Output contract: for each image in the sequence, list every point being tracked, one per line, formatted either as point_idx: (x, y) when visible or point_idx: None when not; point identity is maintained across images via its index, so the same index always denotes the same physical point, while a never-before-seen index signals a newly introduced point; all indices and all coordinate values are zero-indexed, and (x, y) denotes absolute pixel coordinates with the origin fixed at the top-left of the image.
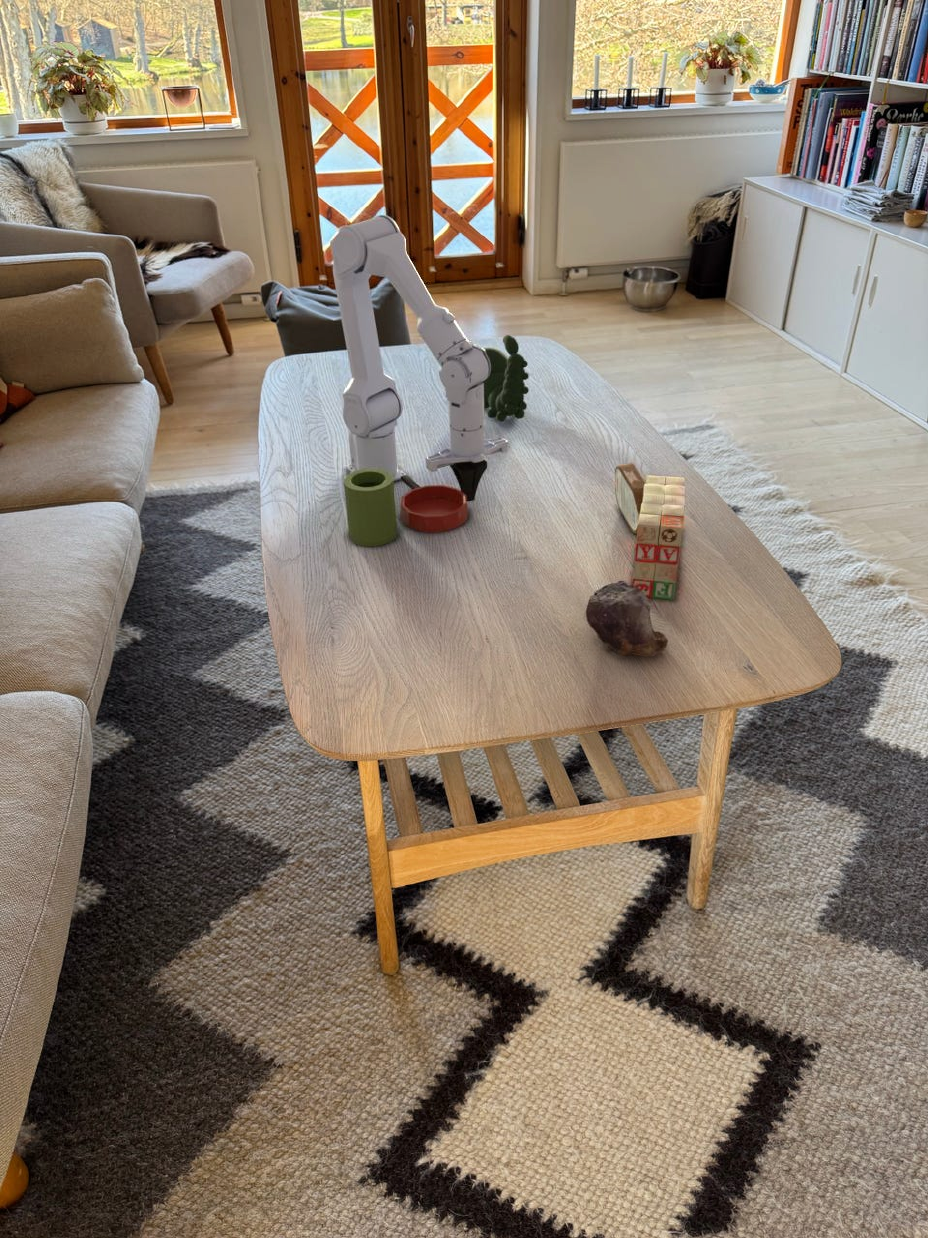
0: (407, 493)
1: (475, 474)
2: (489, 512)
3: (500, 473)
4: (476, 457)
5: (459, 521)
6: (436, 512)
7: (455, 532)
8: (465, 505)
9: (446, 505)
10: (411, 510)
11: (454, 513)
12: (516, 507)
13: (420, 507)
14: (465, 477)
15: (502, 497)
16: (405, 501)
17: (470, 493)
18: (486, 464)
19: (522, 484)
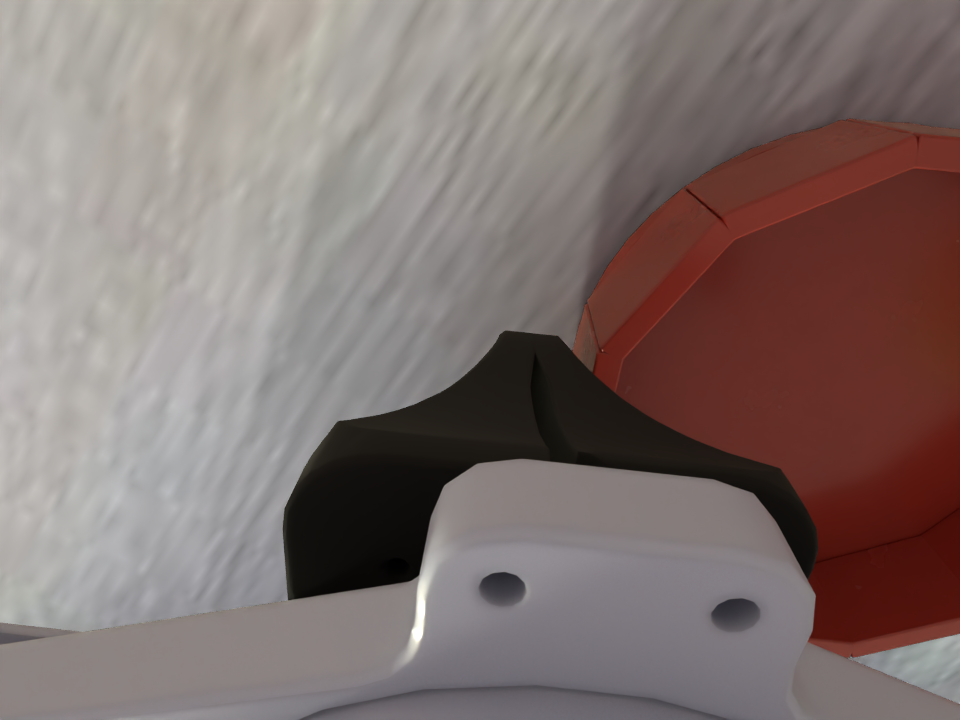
0: (922, 636)
1: (532, 427)
2: (455, 170)
3: (112, 543)
4: (672, 615)
5: (829, 128)
6: (807, 386)
7: (912, 57)
8: (749, 201)
9: (677, 421)
10: (903, 505)
11: (956, 136)
12: (218, 97)
13: (827, 501)
14: (694, 444)
15: (243, 301)
16: (952, 581)
17: (556, 354)
18: (338, 452)
19: (29, 362)
